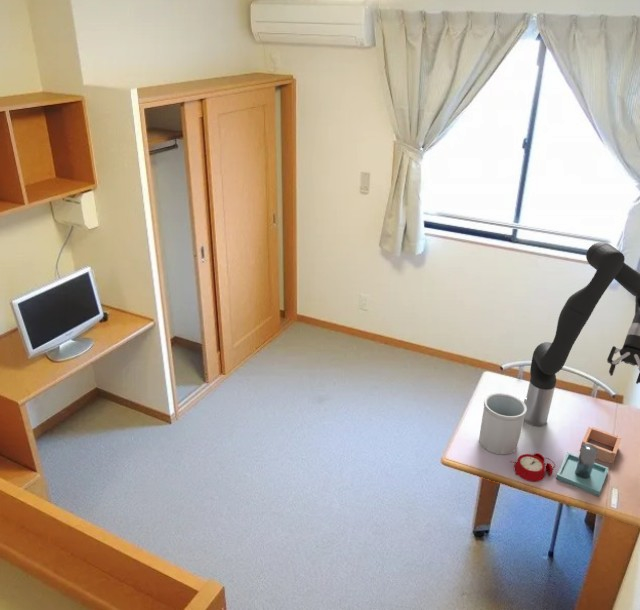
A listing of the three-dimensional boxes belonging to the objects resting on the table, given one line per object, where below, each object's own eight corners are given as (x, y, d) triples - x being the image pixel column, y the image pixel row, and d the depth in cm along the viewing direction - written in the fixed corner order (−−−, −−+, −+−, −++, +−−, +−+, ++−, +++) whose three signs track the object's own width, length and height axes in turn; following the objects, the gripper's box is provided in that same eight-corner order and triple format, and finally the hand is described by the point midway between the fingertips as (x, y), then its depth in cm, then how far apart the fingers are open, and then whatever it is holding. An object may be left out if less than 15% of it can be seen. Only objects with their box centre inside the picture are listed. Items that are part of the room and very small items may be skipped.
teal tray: (555, 478, 204) (556, 474, 203) (566, 456, 214) (567, 452, 213) (598, 496, 197) (600, 492, 196) (607, 472, 207) (608, 467, 206)
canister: (573, 474, 204) (580, 449, 199) (576, 466, 208) (583, 441, 203) (588, 480, 202) (596, 455, 197) (591, 472, 206) (598, 447, 201)
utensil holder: (484, 424, 229) (490, 387, 221) (522, 438, 223) (531, 400, 215) (472, 446, 218) (478, 408, 210) (512, 461, 211) (521, 422, 203)
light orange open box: (579, 451, 216) (581, 442, 214) (586, 435, 225) (589, 426, 223) (612, 464, 211) (615, 454, 208) (618, 447, 219) (621, 437, 217)
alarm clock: (506, 457, 208) (543, 442, 210) (507, 469, 211) (543, 454, 214) (524, 477, 199) (562, 461, 202) (525, 490, 202) (562, 474, 205)
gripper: (617, 328, 213) (602, 369, 210) (660, 340, 206) (646, 383, 202) (616, 335, 219) (602, 375, 216) (659, 347, 212) (645, 388, 209)
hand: (624, 379), depth 209 cm, fingers open, 8 cm apart
